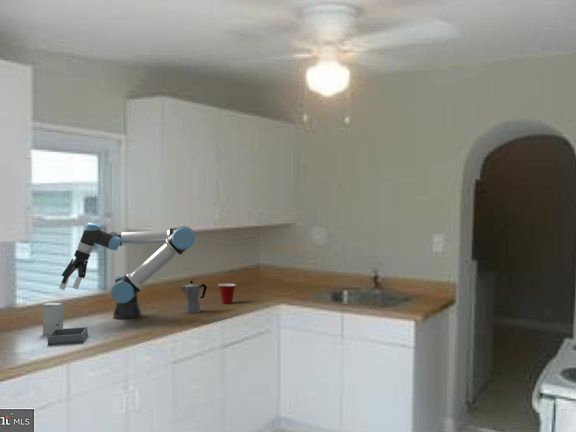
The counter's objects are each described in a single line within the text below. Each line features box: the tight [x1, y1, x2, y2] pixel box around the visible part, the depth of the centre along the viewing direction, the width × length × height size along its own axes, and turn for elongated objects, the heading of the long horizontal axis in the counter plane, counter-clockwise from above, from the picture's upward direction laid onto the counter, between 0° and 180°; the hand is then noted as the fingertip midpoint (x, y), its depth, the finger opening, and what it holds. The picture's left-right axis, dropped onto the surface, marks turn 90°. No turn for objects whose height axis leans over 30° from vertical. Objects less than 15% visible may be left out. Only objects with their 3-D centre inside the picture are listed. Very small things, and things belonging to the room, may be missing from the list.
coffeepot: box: [179, 280, 208, 314], centre depth 332 cm, size 15×9×18 cm, turn 110°
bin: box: [47, 326, 89, 346], centre depth 270 cm, size 15×15×4 cm
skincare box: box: [42, 302, 64, 336], centre depth 286 cm, size 8×6×15 cm
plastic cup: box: [218, 283, 237, 305], centre depth 356 cm, size 11×11×12 cm
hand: (68, 288), depth 305 cm, fingers open, 13 cm apart
